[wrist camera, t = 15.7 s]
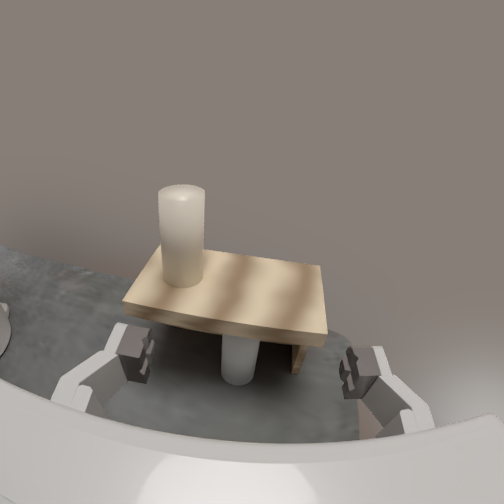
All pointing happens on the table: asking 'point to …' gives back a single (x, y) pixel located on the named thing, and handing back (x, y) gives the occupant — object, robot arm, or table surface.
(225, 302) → the counter
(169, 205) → the white rounded cylinder
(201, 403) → the table surface
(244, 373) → the white cylinder pillar
